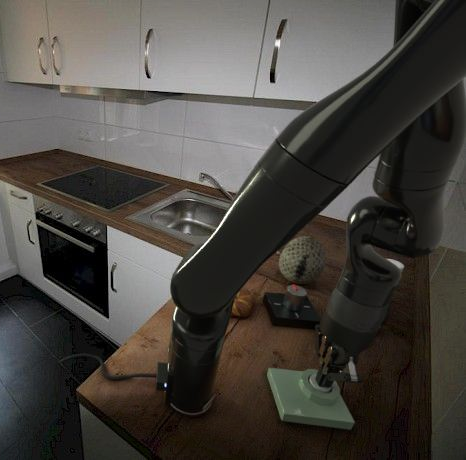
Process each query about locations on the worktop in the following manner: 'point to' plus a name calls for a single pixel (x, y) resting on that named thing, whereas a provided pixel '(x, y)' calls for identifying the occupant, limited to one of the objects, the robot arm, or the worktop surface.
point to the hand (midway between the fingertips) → (322, 383)
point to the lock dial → (294, 298)
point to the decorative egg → (302, 260)
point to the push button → (314, 384)
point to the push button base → (307, 400)
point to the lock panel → (290, 313)
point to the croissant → (243, 303)
